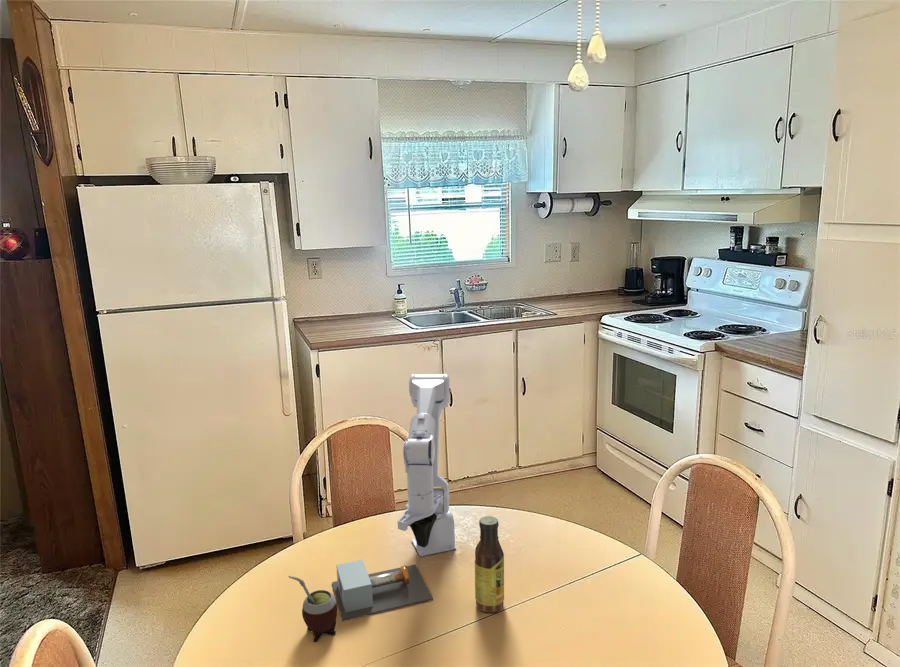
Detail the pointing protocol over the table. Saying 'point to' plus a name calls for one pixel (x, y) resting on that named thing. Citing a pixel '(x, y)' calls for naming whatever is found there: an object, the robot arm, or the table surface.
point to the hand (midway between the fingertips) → (422, 545)
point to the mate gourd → (319, 611)
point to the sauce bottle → (489, 567)
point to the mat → (390, 594)
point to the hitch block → (354, 585)
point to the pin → (391, 578)
